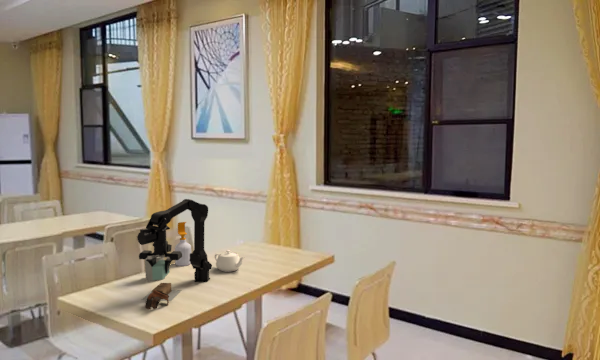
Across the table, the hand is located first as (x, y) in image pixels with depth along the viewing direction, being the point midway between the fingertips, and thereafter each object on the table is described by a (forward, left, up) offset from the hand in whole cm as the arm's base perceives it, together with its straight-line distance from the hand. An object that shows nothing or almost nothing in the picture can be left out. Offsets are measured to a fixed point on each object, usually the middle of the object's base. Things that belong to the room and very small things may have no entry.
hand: (161, 273), depth 223 cm
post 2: (0, -3, -10) cm, 11 cm away
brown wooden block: (0, +3, -10) cm, 11 cm away
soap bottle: (+8, -51, -11) cm, 53 cm away
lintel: (0, 0, -1) cm, 1 cm away
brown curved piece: (-3, +14, -11) cm, 18 cm away
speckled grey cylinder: (+13, -23, -11) cm, 28 cm away
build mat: (0, 0, -11) cm, 11 cm away
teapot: (-21, -43, -11) cm, 49 cm away
